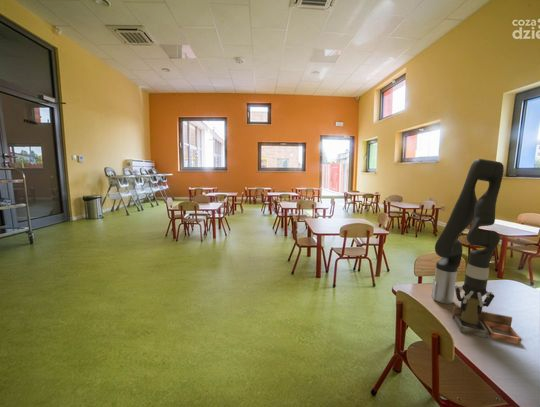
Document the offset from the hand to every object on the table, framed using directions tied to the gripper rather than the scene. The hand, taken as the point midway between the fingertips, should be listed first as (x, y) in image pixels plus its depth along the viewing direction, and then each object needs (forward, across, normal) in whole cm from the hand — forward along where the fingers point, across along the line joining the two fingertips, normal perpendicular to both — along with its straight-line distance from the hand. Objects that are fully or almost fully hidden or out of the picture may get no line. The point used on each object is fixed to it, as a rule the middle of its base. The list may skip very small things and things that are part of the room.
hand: (470, 311), depth 114 cm
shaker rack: (+8, +6, 0) cm, 10 cm away
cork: (+4, 0, 0) cm, 4 cm away
